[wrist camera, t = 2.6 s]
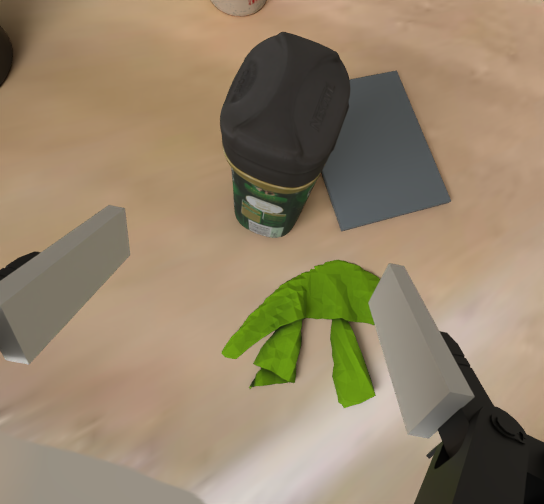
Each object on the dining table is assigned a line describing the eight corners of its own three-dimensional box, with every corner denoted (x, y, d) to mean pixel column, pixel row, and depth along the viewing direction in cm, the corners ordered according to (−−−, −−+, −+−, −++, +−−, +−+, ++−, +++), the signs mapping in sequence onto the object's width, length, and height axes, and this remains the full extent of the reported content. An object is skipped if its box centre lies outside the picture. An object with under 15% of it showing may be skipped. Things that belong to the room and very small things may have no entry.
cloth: (404, 270, 35) (416, 267, 32) (388, 466, 30) (400, 479, 28) (244, 239, 34) (243, 233, 32) (203, 435, 30) (199, 446, 27)
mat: (294, 93, 38) (295, 90, 37) (394, 74, 40) (396, 70, 39) (341, 231, 34) (342, 229, 34) (448, 202, 36) (451, 201, 36)
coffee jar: (253, 156, 35) (257, -1, 17) (312, 178, 36) (376, 44, 17) (225, 224, 33) (195, 127, 15) (286, 248, 33) (329, 177, 15)
